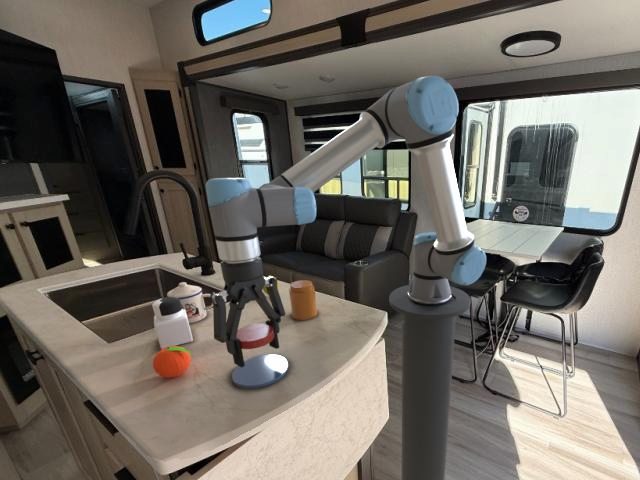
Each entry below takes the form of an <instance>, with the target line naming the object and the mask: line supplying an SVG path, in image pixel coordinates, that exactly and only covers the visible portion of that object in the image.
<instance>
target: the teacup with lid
mask: <svg viewBox="0 0 640 480" xmlns="http://www.w3.org/2000/svg"><path fill="white" fill-rule="evenodd" d="M211 294H212V293H203V288H202V287H201V286H197V285H191V284H187V282H185V281H182V282H179V283H178V285H177V287H175V288H172V289H171V290H169V291H168V292H167V294H166V297H176V298H179V299H180V302H181V305H182V309H185V310H186V314H187V318H188V322H189V324H193V323H196V322H200V321H202V320H203V319H205V318H206V317H207V315H208V313H207V310H209V309H213V303H212V302H211V304H210V305H208V306H206V305H205V300H204V298H210V295H211Z"/></svg>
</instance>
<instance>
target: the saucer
mask: <svg viewBox="0 0 640 480" xmlns="http://www.w3.org/2000/svg"><path fill="white" fill-rule="evenodd" d="M244 364H245V366H244V367H242V368H241V367H240V366H238V365H236V367H235V368H234V369H233V370H232V375H231V379H232V382H233V384H234V385H235V386H237V387H239V388H242V389H248V390H249V389H253V390H254V389H260V388H264V387H267V386H270V385H272V384H275V383H277V382H278V381H280V380H281V379H282V378H284V377H285V375H286V374H287V373H288V371H289V361H288V360H287V358H286V357H284V356H282V355H279V354H271V353H269V354H261V355H257V356H253V357H251V358H248V359H246V360H244Z"/></svg>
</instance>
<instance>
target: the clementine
mask: <svg viewBox="0 0 640 480" xmlns="http://www.w3.org/2000/svg"><path fill="white" fill-rule="evenodd" d="M191 356H192V353H191V352H190V351H189V350H188V349H186V348H184V347H181V346H180V345H176V346H169V347H166V348H164V349H160V350H159V351H158V352H157V353H156V354H155V356H154V357H153V360H152V367H153V370H154V371H155V373H156V374H157V375H158V376H160V377H163V378H176V377H179V376H180V375H182V374H184V373H185V372H186V371H187V370H188V369H189V368H190V365H191V362H192V361H191Z"/></svg>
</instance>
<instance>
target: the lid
mask: <svg viewBox="0 0 640 480" xmlns="http://www.w3.org/2000/svg"><path fill="white" fill-rule="evenodd" d="M274 336H275V335H274V330H273V327H272V326H271V325H268V324H266V323H251V324H247V325H245V326H243V327H240V328H238V330H237V335H236V338H238V339H240V343H241V348H242V350H254V349H258V348H261V347H264V346H266V345H269V343H270V342H271V341H272V340H273V339H274Z"/></svg>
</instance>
